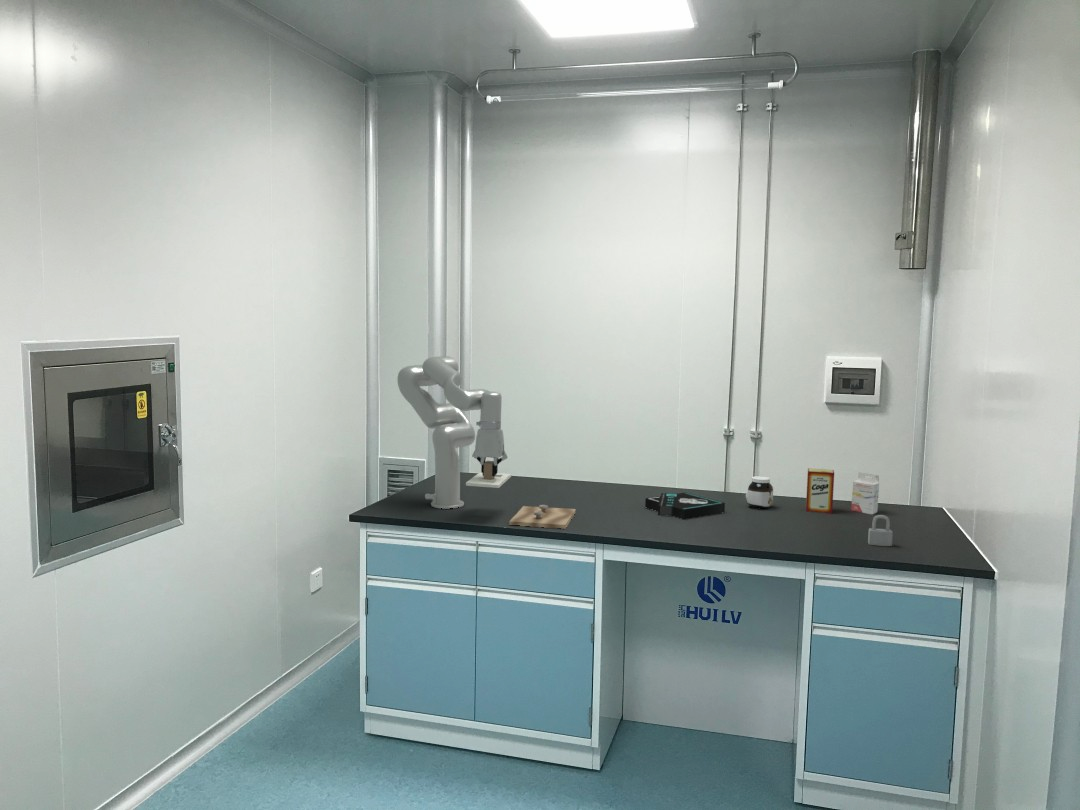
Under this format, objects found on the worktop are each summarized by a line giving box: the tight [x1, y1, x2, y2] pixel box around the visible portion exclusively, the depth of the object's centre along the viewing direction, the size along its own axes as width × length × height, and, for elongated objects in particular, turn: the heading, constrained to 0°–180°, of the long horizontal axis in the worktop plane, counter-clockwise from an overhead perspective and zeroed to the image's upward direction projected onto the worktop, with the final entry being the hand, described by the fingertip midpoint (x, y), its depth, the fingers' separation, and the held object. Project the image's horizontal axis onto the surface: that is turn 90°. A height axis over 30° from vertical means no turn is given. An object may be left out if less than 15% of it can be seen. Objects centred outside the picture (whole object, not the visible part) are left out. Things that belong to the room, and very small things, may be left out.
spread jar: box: [745, 475, 774, 510], centre depth 326 cm, size 12×11×12 cm
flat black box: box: [644, 492, 726, 520], centre depth 318 cm, size 30×4×30 cm
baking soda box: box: [805, 467, 835, 514], centre depth 319 cm, size 10×6×16 cm
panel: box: [465, 460, 512, 489], centre depth 303 cm, size 12×20×7 cm, turn 169°
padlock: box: [867, 514, 894, 547], centre depth 272 cm, size 7×4×10 cm, turn 75°
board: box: [508, 504, 577, 530], centre depth 301 cm, size 20×24×4 cm
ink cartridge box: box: [850, 471, 880, 515], centre depth 318 cm, size 9×5×15 cm, turn 47°
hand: (489, 474), depth 303 cm, fingers closed on panel, 3 cm apart
